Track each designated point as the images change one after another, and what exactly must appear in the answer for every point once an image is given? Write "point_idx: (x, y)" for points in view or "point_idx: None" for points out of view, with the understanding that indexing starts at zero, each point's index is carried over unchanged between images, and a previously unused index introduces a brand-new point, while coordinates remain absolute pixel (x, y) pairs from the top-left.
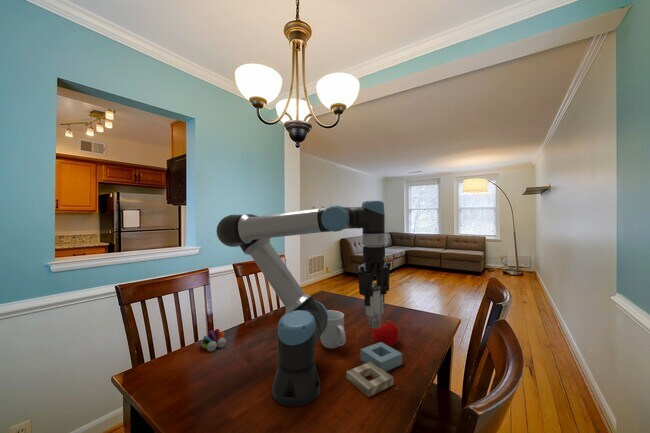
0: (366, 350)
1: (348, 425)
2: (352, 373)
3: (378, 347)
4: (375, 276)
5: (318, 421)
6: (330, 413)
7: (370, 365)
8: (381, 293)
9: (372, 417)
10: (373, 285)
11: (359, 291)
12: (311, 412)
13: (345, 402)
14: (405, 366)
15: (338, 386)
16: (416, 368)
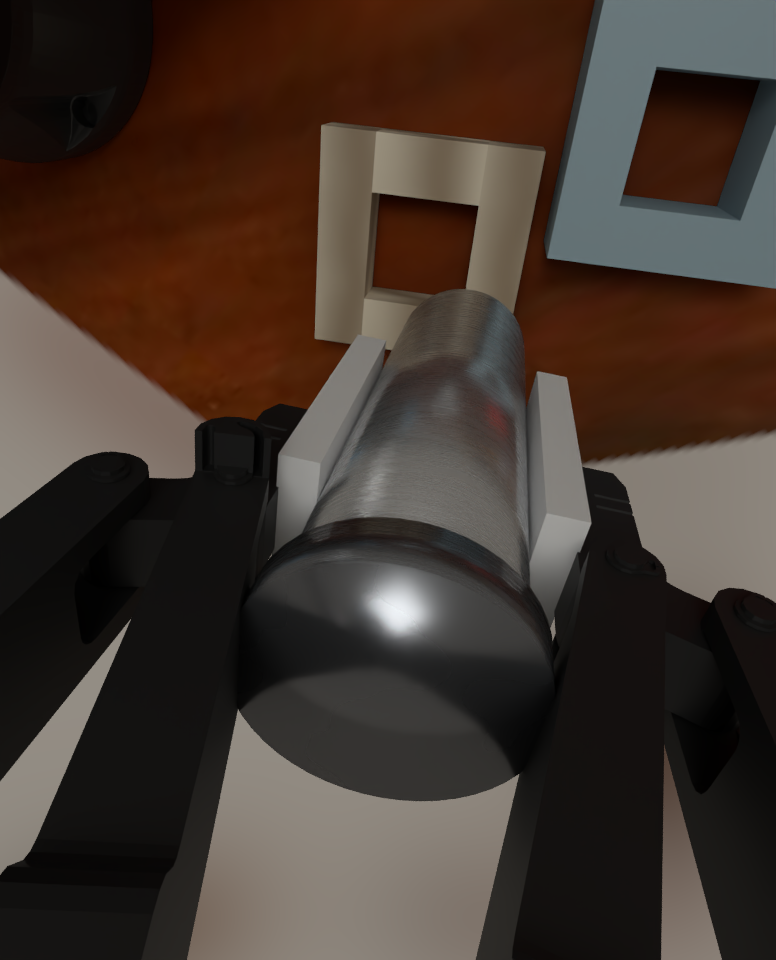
0: (627, 39)
1: (150, 372)
2: (339, 172)
3: (757, 76)
4: (526, 874)
5: (52, 278)
6: (116, 278)
7: (504, 188)
8: (554, 614)
9: (255, 408)
10: (354, 689)
11: (55, 486)
12: (41, 215)
13: (210, 273)
14: (737, 297)
15: (249, 149)
16: (759, 356)
